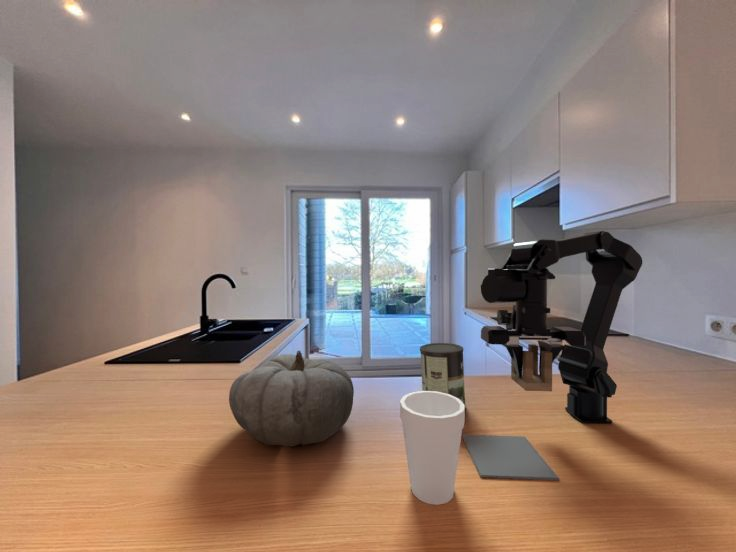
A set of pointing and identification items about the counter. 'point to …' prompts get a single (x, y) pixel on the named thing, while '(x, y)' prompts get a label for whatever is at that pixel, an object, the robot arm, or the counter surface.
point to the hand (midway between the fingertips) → (530, 376)
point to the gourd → (292, 400)
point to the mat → (507, 457)
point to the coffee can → (443, 369)
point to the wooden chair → (534, 370)
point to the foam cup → (432, 443)
